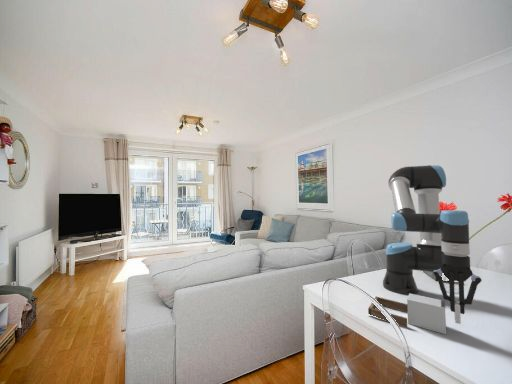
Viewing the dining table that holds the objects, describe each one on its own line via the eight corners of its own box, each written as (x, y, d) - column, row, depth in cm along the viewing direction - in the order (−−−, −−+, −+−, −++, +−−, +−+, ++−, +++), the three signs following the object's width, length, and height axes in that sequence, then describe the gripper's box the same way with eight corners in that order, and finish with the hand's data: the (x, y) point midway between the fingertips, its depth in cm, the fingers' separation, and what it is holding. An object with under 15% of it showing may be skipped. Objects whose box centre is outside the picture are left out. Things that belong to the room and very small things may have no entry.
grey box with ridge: (410, 316, 91) (409, 288, 91) (445, 325, 84) (444, 295, 84) (408, 323, 85) (406, 294, 86) (446, 334, 78) (444, 302, 79)
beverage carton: (434, 271, 144) (434, 261, 144) (452, 283, 126) (452, 271, 126) (420, 270, 146) (420, 260, 146) (436, 281, 128) (435, 270, 128)
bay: (375, 303, 102) (375, 296, 102) (410, 312, 94) (410, 305, 94) (368, 315, 91) (368, 308, 91) (407, 327, 83) (406, 319, 83)
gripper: (432, 253, 81) (434, 320, 80) (482, 259, 73) (485, 333, 72) (432, 249, 87) (434, 311, 86) (479, 254, 79) (481, 323, 78)
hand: (457, 321), depth 79 cm, fingers closed
